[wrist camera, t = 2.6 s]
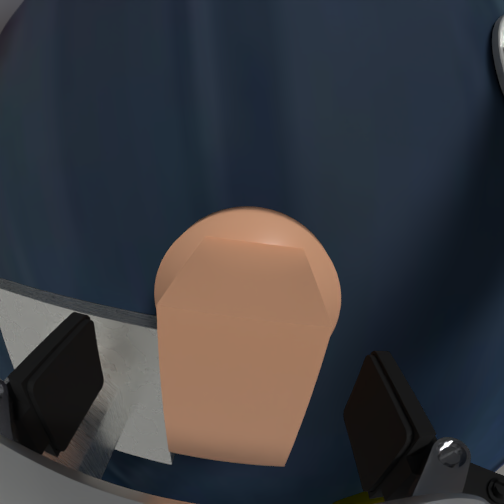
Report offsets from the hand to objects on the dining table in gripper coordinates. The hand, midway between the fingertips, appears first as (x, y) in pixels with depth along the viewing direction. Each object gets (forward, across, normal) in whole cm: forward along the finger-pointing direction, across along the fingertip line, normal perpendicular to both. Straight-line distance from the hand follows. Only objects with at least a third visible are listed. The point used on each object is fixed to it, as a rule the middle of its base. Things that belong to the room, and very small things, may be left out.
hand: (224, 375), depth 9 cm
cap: (+9, -1, 0) cm, 9 cm away
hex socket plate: (+9, +12, +12) cm, 19 cm away
